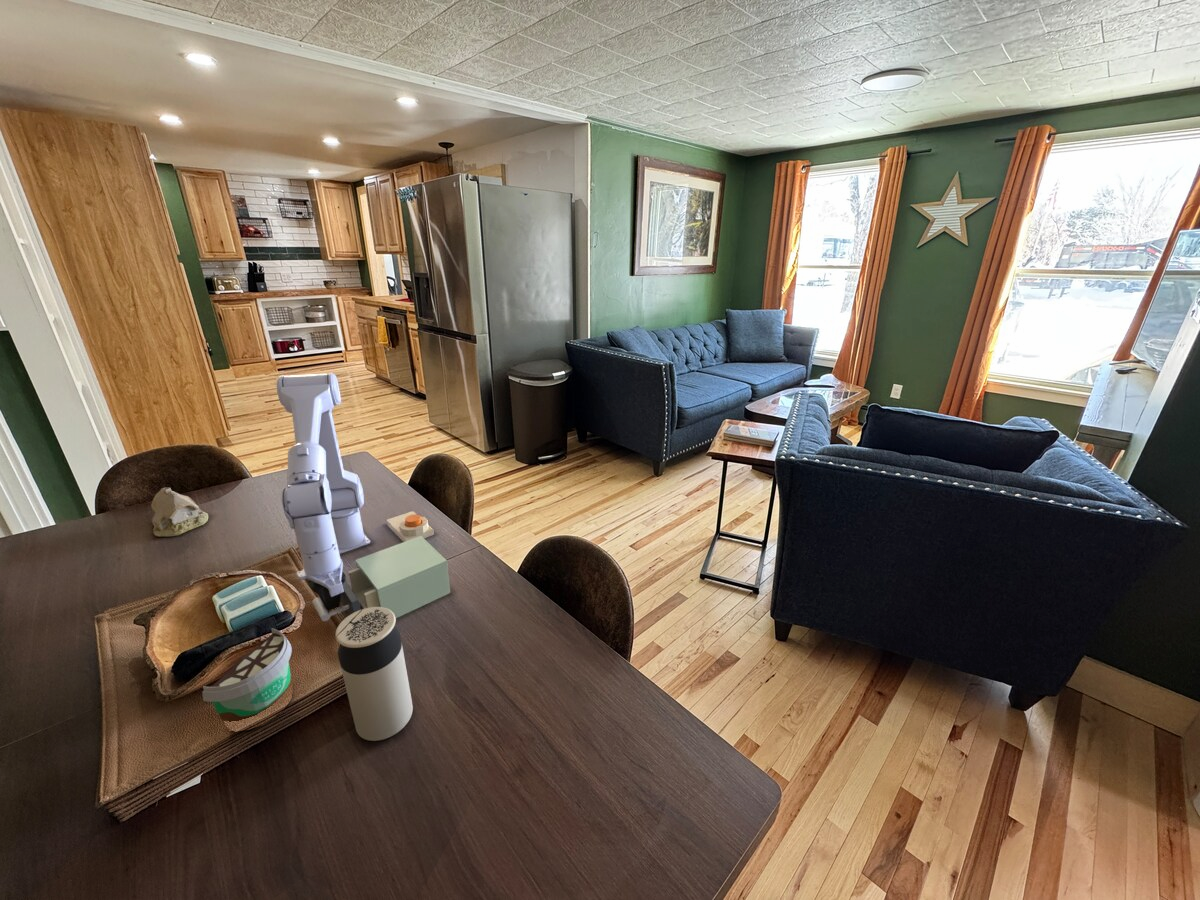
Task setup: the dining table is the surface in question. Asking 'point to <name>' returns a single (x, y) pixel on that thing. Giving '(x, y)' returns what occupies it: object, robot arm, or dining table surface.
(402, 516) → the control block
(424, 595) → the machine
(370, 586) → the compartment
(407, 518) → the button
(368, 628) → the travel mug
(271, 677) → the food container
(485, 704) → the dining table surface
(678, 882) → the dining table surface
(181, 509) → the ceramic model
